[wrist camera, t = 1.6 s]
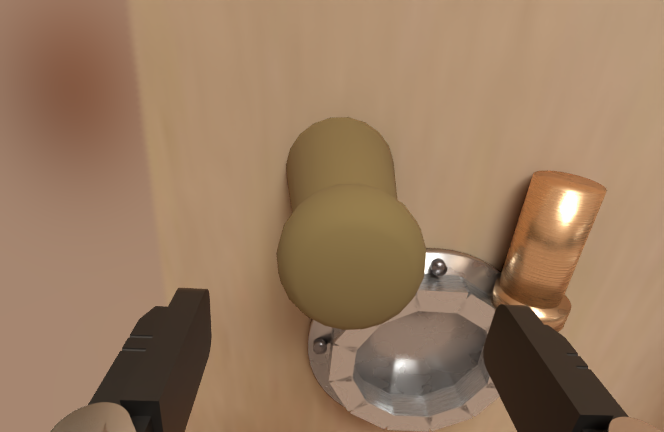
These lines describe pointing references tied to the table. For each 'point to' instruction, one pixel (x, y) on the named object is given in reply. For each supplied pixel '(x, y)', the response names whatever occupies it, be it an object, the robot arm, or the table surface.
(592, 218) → the pipe stub
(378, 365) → the flange seat
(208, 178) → the table surface
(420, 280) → the cork
